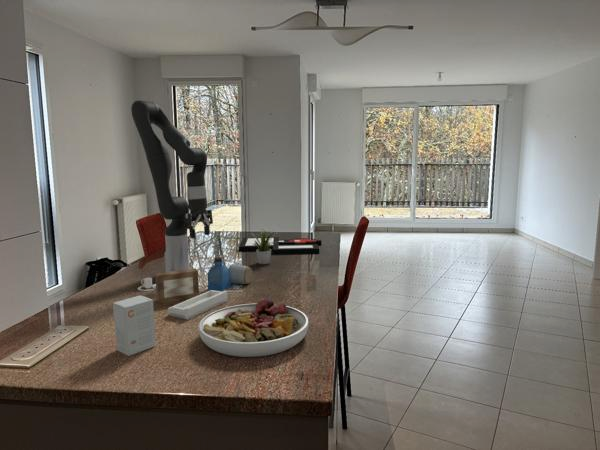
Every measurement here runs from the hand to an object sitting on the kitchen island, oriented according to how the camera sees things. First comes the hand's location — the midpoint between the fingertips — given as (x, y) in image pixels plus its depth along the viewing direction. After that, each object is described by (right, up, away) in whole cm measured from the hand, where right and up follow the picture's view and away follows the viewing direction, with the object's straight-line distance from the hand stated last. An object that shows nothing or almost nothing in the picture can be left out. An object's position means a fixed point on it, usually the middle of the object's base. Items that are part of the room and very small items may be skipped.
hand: (200, 236), depth 183 cm
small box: (-2, -28, -66) cm, 72 cm away
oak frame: (-2, -22, -26) cm, 34 cm away
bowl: (+29, -27, -59) cm, 71 cm away
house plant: (+25, -13, +26) cm, 39 cm away
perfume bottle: (+10, -20, -13) cm, 26 cm away
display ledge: (+8, -23, -35) cm, 43 cm away
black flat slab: (+31, -8, +63) cm, 70 cm away
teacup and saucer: (-16, -21, -14) cm, 30 cm away
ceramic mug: (+18, -19, -6) cm, 26 cm away
